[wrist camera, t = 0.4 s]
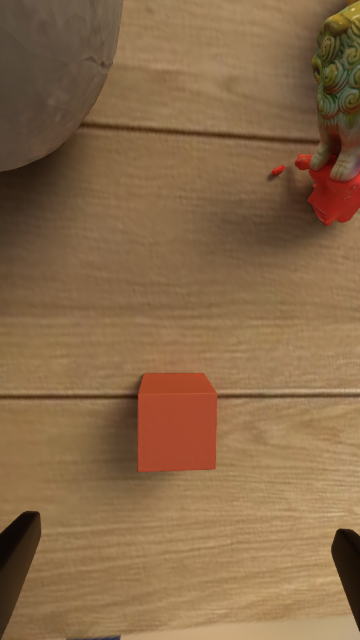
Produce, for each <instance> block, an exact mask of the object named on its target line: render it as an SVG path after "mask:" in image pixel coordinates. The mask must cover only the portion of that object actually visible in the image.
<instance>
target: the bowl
mask: <svg viewBox="0 0 360 640" xmlns="http://www.w3.org/2000/svg"><path fill="white" fill-rule="evenodd" d="M122 5H123V0H0V171H6V170H12V169H16V168H19V167H22V166H25V165H27V164H29V163H31V162H34V161H36V160H39V159H41V158H43V157H45V156H47V155H48V154H50V153H52V152H53V151H55V150H57V149H58V148H59V147H60V146H61V145H62V144H63V143H64V142H65V141H66V140H67V139H68V138H69V137H70V136H71V135H72V134H73V133H74V132H75V131H76V130H77V129H78V127H79V126H80V124H81V123H82V121H83V120H84V118H85V117H86V115H87V114H88V112H89V111H90V109H91V107H92V106H93V105H94V103H95V101H96V100H97V98H98V96H99V94H100V92H101V90H102V88H103V85H104V83H105V81H106V79H107V75H108V71H109V69H110V67H111V65H112V64H113V58H114V56H115V53H116V48H117V42H118V36H119V29H120V23H121V15H122Z"/></svg>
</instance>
